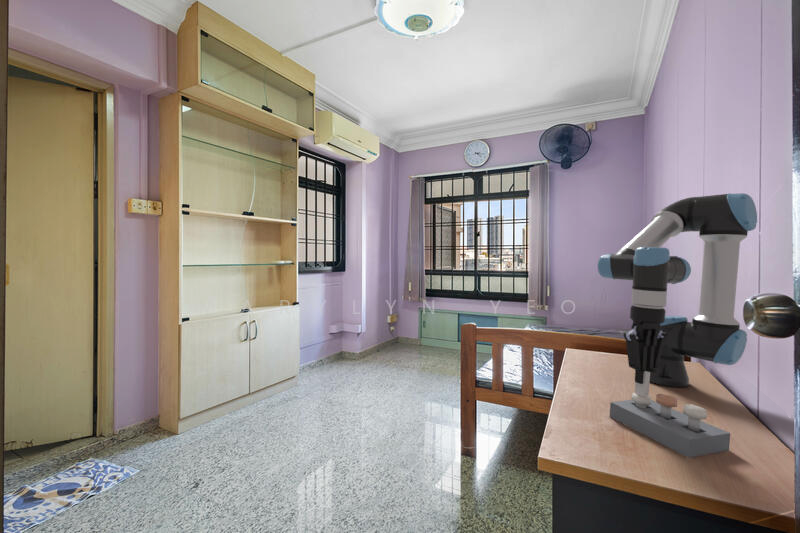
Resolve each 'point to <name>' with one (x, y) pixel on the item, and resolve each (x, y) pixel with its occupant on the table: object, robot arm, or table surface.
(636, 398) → the plunger
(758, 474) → the table surface
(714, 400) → the table surface
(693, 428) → the plunger
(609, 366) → the table surface
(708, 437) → the console
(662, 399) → the terracotta plunger
